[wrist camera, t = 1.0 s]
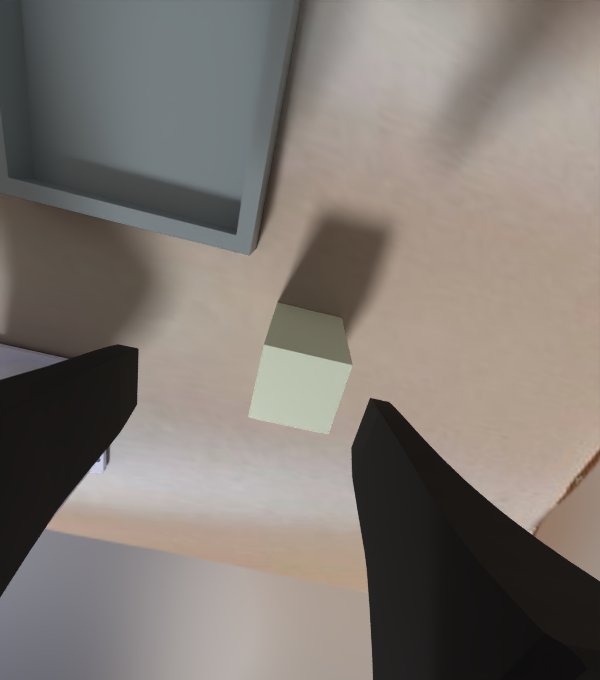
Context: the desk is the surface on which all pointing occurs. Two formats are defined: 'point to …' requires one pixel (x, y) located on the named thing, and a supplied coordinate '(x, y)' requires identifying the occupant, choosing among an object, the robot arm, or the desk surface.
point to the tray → (146, 110)
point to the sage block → (302, 370)
